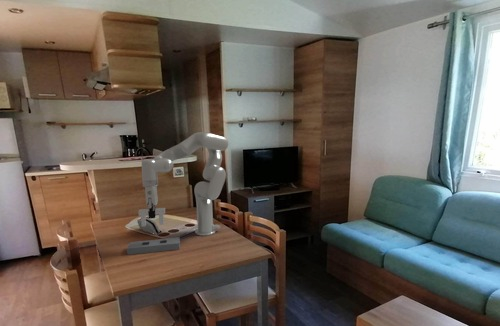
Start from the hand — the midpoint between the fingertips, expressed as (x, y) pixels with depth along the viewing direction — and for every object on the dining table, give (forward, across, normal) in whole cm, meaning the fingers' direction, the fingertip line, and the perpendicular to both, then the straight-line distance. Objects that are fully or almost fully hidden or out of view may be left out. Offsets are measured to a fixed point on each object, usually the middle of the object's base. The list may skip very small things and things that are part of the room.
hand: (152, 216), depth 146 cm
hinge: (+18, +27, +6) cm, 33 cm away
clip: (+4, 0, 0) cm, 4 cm away
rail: (+18, 0, 0) cm, 18 cm away
